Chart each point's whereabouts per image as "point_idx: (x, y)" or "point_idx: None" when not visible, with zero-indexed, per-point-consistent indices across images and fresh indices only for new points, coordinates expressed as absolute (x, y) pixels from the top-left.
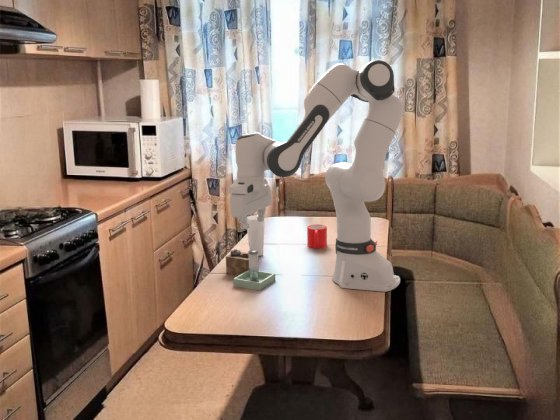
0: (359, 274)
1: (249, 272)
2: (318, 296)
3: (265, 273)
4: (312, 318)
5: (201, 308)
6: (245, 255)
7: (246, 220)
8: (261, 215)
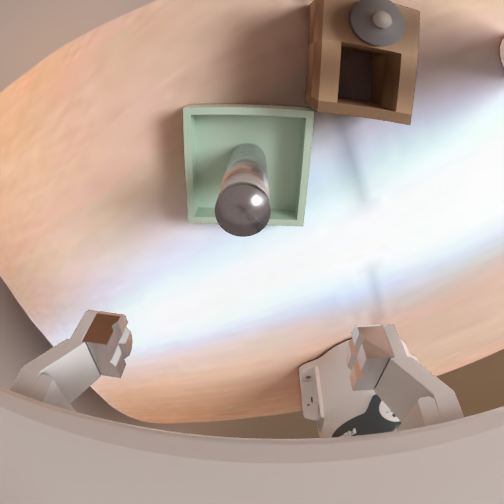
0: (319, 408)
1: (230, 159)
2: (230, 347)
3: (299, 188)
4: (125, 362)
5: (14, 141)
6: (397, 63)
7: (70, 398)
8: (383, 384)
